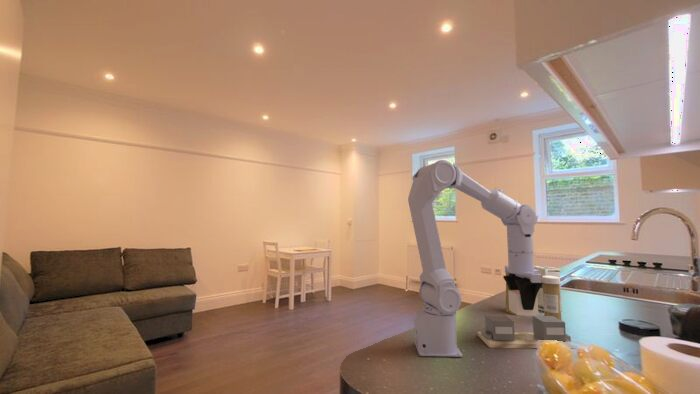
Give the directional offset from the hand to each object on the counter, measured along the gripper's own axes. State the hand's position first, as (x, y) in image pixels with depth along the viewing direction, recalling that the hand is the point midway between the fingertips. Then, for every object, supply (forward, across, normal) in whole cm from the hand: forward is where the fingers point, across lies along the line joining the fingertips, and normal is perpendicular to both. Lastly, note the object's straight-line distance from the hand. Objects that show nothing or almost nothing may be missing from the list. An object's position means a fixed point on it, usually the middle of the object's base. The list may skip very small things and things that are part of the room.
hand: (522, 306), depth 78 cm
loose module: (+1, 0, 0) cm, 1 cm away
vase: (+9, +26, -10) cm, 29 cm away
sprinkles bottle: (+9, +16, -16) cm, 24 cm away
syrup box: (+9, +29, -22) cm, 37 cm away
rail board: (+9, 0, 0) cm, 9 cm away
